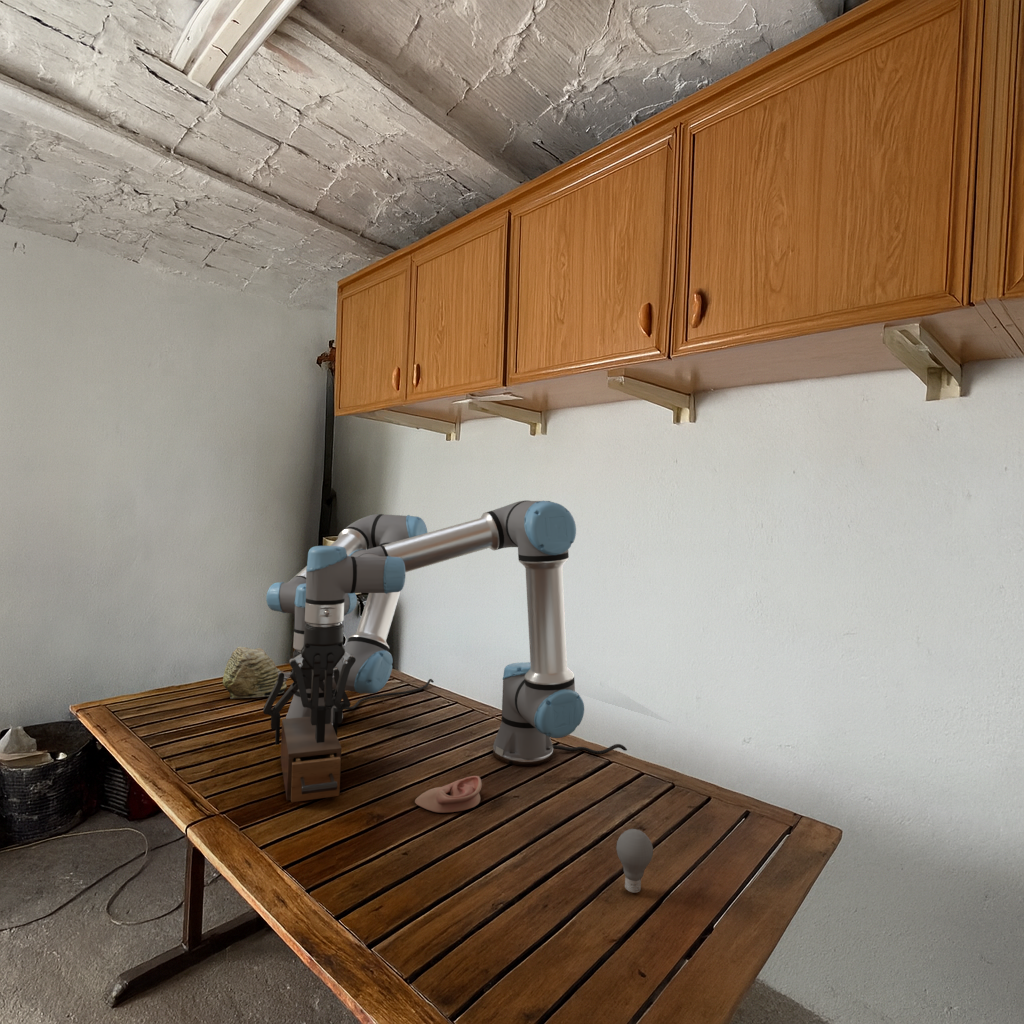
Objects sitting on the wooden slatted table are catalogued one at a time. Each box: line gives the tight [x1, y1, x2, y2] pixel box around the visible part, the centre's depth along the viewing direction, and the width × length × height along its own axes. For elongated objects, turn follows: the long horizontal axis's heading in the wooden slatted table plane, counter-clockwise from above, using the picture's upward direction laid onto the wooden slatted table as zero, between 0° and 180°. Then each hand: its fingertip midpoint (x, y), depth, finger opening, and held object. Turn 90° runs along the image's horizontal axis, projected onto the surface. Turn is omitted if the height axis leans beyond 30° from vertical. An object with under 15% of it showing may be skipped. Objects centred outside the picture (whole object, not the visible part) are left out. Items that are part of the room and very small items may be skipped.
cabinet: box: [280, 717, 342, 801], centre depth 143 cm, size 22×11×10 cm, turn 23°
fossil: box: [222, 646, 288, 699], centre depth 198 cm, size 9×18×15 cm, turn 132°
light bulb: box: [615, 828, 654, 894], centre depth 106 cm, size 6×6×10 cm
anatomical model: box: [414, 775, 483, 814], centre depth 134 cm, size 13×4×12 cm
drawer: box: [290, 754, 342, 803], centre depth 137 cm, size 26×10×8 cm, turn 23°
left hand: (306, 739), depth 150 cm, fingers open, 12 cm apart
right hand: (319, 739), depth 127 cm, fingers closed
